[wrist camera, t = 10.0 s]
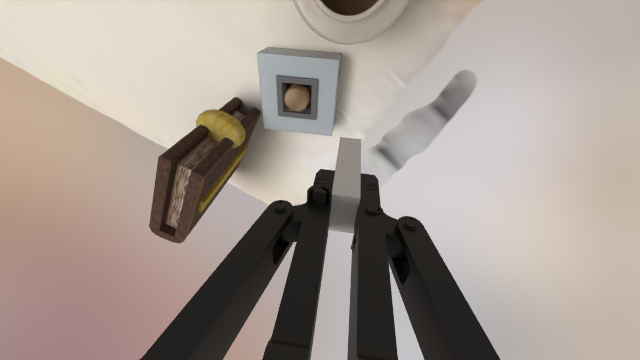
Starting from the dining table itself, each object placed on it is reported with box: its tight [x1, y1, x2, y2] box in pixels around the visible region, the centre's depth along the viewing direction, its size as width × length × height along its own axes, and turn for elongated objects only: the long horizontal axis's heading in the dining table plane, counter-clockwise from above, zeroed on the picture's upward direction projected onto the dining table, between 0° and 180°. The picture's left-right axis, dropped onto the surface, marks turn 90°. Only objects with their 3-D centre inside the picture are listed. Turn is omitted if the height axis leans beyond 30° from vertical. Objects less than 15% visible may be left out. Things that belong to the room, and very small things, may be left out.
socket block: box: [257, 47, 341, 136], centre depth 48 cm, size 14×14×7 cm
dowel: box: [284, 83, 312, 112], centre depth 47 cm, size 4×4×6 cm
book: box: [149, 97, 260, 243], centre depth 49 cm, size 22×8×25 cm, turn 151°
